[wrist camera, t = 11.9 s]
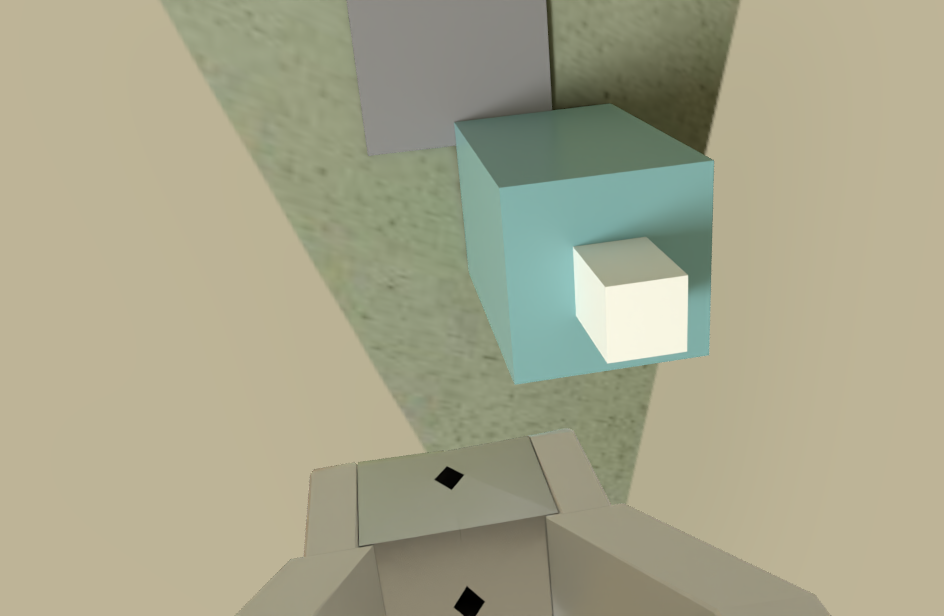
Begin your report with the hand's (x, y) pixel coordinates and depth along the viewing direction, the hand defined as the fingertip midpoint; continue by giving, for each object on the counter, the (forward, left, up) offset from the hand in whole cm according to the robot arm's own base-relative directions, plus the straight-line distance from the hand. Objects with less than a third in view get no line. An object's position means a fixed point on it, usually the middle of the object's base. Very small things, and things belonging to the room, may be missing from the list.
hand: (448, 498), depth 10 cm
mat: (-2, +4, -37) cm, 37 cm away
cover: (+6, +8, -36) cm, 38 cm away
